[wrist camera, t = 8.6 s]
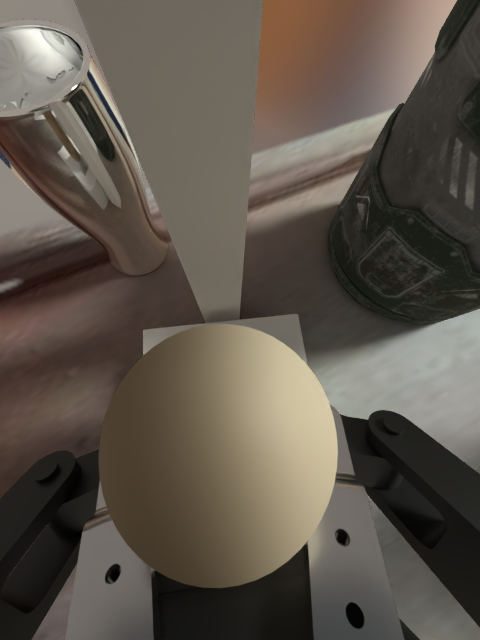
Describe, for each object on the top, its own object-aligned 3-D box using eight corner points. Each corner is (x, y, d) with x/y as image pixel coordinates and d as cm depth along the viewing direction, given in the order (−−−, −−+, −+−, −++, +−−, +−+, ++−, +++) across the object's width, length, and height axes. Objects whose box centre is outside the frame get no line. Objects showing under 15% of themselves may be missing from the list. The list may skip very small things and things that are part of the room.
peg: (250, 365, 16) (290, 300, 5) (269, 428, 15) (378, 531, 4) (192, 383, 16) (84, 357, 4) (207, 448, 15) (118, 634, 3)
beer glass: (95, 275, 24) (-102, 107, 10) (115, 217, 26) (-26, 7, 12) (164, 284, 24) (64, 128, 10) (179, 225, 26) (112, 24, 12)
